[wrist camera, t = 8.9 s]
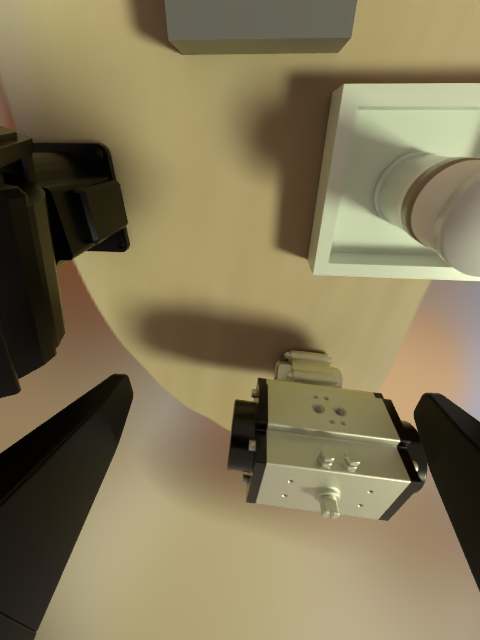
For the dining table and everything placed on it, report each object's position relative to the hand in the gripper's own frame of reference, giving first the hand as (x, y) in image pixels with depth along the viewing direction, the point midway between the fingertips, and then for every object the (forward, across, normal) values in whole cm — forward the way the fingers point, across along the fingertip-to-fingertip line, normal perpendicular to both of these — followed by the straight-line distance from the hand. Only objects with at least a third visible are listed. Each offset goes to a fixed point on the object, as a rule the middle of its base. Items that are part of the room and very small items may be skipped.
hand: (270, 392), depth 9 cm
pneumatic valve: (+13, -4, +10) cm, 17 cm away
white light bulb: (+12, -8, -4) cm, 15 cm away
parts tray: (+13, -8, -4) cm, 16 cm away
